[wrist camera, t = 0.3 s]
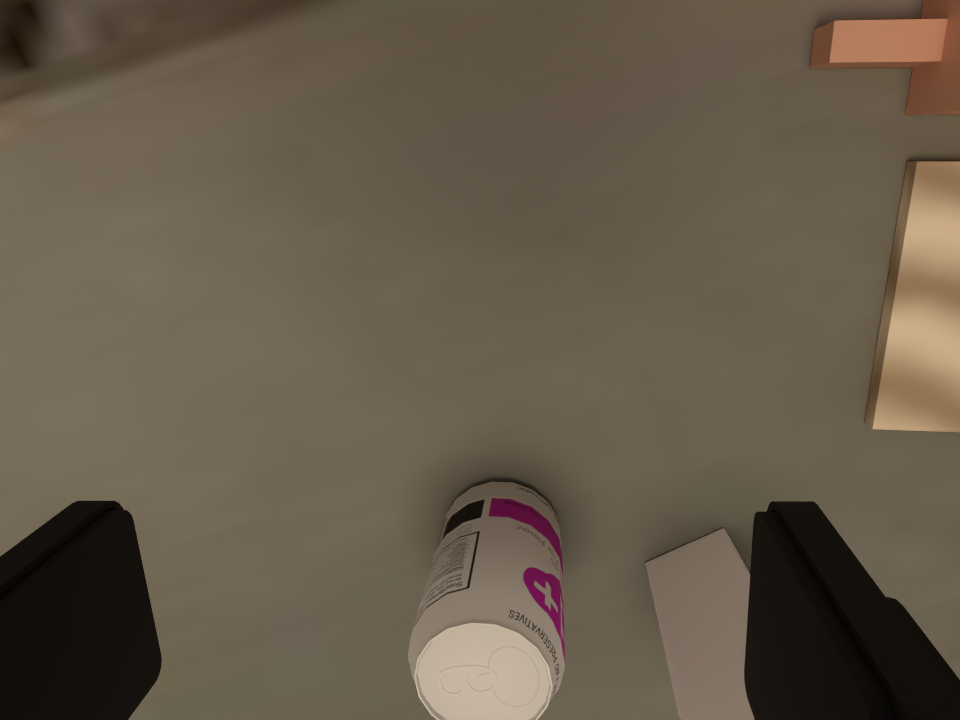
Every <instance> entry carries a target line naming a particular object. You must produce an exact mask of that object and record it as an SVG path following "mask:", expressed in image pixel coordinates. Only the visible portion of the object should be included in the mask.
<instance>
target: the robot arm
mask: <svg viewBox="0 0 960 720" xmlns="http://www.w3.org/2000/svg"><path fill="white" fill-rule="evenodd" d="M161 661H162V659H161V652H160V647H159V642H158V637H157V633H156V628H155V623H154V618H153V613H152V608H151V603H150V599H149V594H148V589H147V584H146V579H145V574H144V570H143V565H142V560H141V555H140V550H139V545H138V540H137V536H136V531H135V526H134V521H133V518H132V515H131V514H130V513H129V512H128V511H126V510H123V508H122V506H121V505H120V504H119V503H118V502H116V501H76V502H74V503H72V504H71V505H69V506H68V507H67V508H65V509H64V510H63V511H61V512H60V513H58V514H57V515H56V516H54V517H53V518H52V519H50V520H49V521H48V522H46V523H45V524H44V525H42V526H41V527H40V528H38V529H37V530H36V531H34V532H33V533H32V534H30V535H29V536H27V537H26V538H25V539H23V540H22V541H21V542H19V543H18V544H17V545H15V546H14V547H13V548H11V549H10V550H9V551H7V552H6V553H5V554H3V555H2V556H1V557H0V720H128V719H129V717H130V716H131V715H132V713H133V712H134V711H135V709H136V708H137V707H138V705H139V704H140V703H141V701H142V700H143V698H144V697H145V696H146V694H147V693H148V692H149V690H150V689H151V688H152V686H153V685H154V684H155V682H156V680H157V678H158V676H159V673H160V669H161ZM744 682H745V689H746V694H747V698H748V702H749V705H750V707H751V710H752V713H753V716H754V719H755V720H960V680H959V678H958V677H957V676H956V674H955V673H954V672H953V671H952V669H951V668H950V667H949V665H948V664H947V663H946V661H945V660H944V659H943V657H942V656H941V655H940V653H939V652H938V651H937V650H936V648H935V647H934V646H933V644H932V643H931V642H930V640H929V639H928V638H927V636H926V635H925V634H924V633H923V631H922V630H921V629H920V627H919V626H918V625H917V623H916V622H915V621H914V619H913V618H912V617H911V616H910V614H909V613H908V612H907V610H906V609H905V608H904V606H903V605H901V604H900V603H899V602H898V601H897V600H896V599H893V598H890V597H885V596H884V594H883V593H882V592H881V590H880V589H879V588H878V586H877V585H876V584H875V582H874V581H873V579H872V578H871V577H870V575H869V574H868V573H867V571H866V570H865V569H864V567H863V566H862V565H861V563H860V562H859V561H858V559H857V558H856V556H855V555H854V554H853V552H852V551H851V550H850V548H849V547H848V546H847V544H846V543H845V542H844V540H843V539H842V538H841V536H840V535H839V533H838V532H837V531H836V529H835V528H834V527H833V525H832V524H831V523H830V521H829V520H828V519H827V517H826V516H825V515H824V513H823V512H822V510H821V509H820V508H819V506H818V505H817V504H816V503H815V502H771V503H770V504H769V506H768V509H767V512H756V514H755V517H754V524H753V540H752V555H751V571H750V586H749V602H748V617H747V633H746V649H745V664H744Z"/></svg>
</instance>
